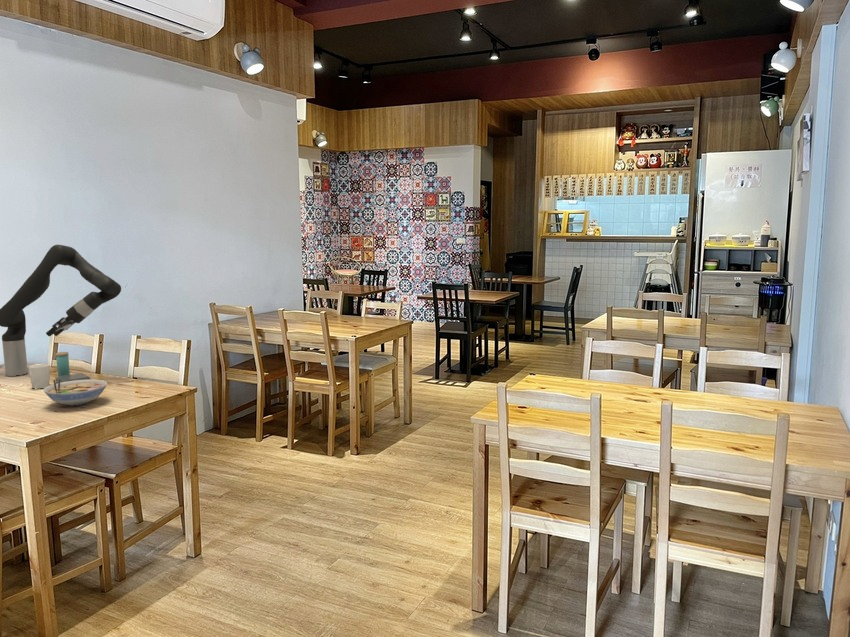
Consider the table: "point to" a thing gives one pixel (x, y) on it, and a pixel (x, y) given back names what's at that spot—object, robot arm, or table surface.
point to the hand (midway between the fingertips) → (51, 334)
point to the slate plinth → (72, 377)
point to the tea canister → (62, 363)
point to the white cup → (39, 375)
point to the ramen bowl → (75, 391)
